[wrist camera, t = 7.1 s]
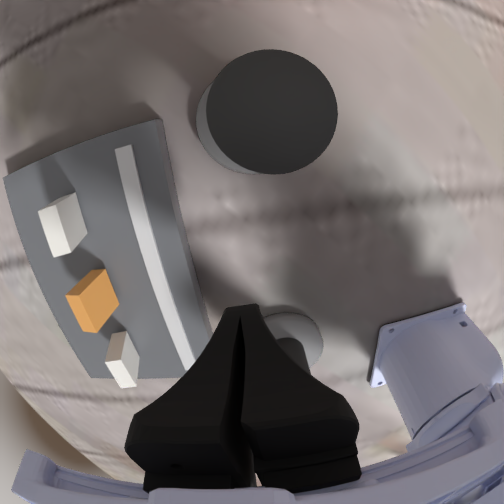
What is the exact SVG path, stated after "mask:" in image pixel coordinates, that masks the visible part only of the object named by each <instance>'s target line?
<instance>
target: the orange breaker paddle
mask: <svg viewBox="0 0 504 504" xmlns="http://www.w3.org/2000/svg"><path fill="white" fill-rule="evenodd" d="M65 296H66V298H67V301H68V303H69V305H70V307H71V309H72V311H73V313H74V315H75V317H76V319H77V321H78V323H79V325H80V327H81V329H82V330H83V332H92V333H97V332H98V331H99V330H100V328H101V327H102V326H103V324H104V323H105V322H106V321H107V319H108V318H109V317H110V315H111V314H112V313H113V312H114V310H115V309H116V308H117V307H118V305H119V302H118V299H117V297H116V294H115V292H114V289H113V287H112V284H111V282H110V279H109V277H108V274H107V272H106V269H97V270H91V271H90V272H89V273H88V274H87V275H86V276H85V277H84V278H83V279H82V280H80V281H79V282H78V283H77V284H76V285H75V286H74V287H73V288H72V289H71V290H70V291H69V292H68V293H67V294H66V295H65Z"/></svg>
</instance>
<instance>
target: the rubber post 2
mask: <svg viewBox="0 0 504 504" xmlns="http://www.w3.org/2000/svg"><path fill="white" fill-rule="evenodd" d="M263 319H264V321H265V323H266V325H267V326H268V328H269V330H270V331H271V333H272V334H273V336H274V337H275V339H276V340H277V341H278V343H279V344H280V345H281V346H282V348H283V349H284V350H285V351H286V352H287V353H288V354H289V355H290V357H291V358H292V359H293V360H294V361H295V362H296V363H298V364H299V365H300V366H301V367H302V368H303V369H304V370H306V371H307V372H308V373H309V374H310V375H311V373H310V369H309V368H310V367H311V366H313V365H314V364H315V363H316V362H317V360H318V359H319V358H320V356H321V354H322V351H323V340H322V336H321V334H320V331H319V328H318V326H317V325H316V324H315V323H314V322H313V321H312V320H311V319H310V318H308V317H306V316H304V315H301V314H296V313H278V314H273V315H270V316H267V317H265V318H263Z"/></svg>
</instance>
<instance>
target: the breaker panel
mask: <svg viewBox="0 0 504 504" xmlns="http://www.w3.org/2000/svg"><path fill="white" fill-rule="evenodd" d="M3 181H4V185H5V189H6V193H7V197H8V200H9V204H10V207H11V211H12V214H13V217H14V221H15V224H16V227H17V230H18V233H19V236H20V239H21V242H22V244H23V247H24V250H25V252H26V255H27V258H28V260H29V263H30V265H31V267H32V270H33V272H34V275H35V277H36V279H37V282H38V284H39V286H40V288H41V290H42V293H43V295H44V297H45V299H46V301H47V303H48V305H49V307H50V309H51V311H52V313H53V315H54V317H55V319H56V321H57V322H58V324H59V326H60V328H61V330H62V332H63V333H64V335H65V337H66V339H67V340H68V342H69V344H70V346H71V347H72V349H73V351H74V352H75V354H76V355H77V357H78V359H79V360H80V362H81V363H82V365H83V367H84V368H85V370H86V371H87V373H88V374H89V376H90V377H91V378H114V376H113V375H112V373H111V372H110V370H109V368H108V367H107V365H106V364H105V359H106V355H107V351H108V347H109V343H110V339H111V335H112V334H113V333H118V332H124V331H127V333H128V335H129V337H130V339H131V341H132V343H133V345H134V347H135V349H136V351H137V353H138V355H139V357H140V359H139V368H138V377H137V379H148V378H178V377H182V376H183V375H184V374H185V373H186V372H187V371H188V370H189V369H190V367H191V366H192V365H193V364H194V362H195V361H196V360H197V359H198V357H199V356H200V354H201V353H202V351H203V350H204V348H205V347H206V345H207V344H208V342H209V341H210V339H211V337H212V335H213V332H212V329H211V325H210V322H209V318H208V315H207V312H206V308H205V305H204V301H203V297H202V294H201V290H200V286H199V283H198V279H197V275H196V271H195V268H194V264H193V260H192V256H191V252H190V248H189V244H188V240H187V236H186V232H185V228H184V223H183V219H182V215H181V210H180V206H179V202H178V197H177V193H176V188H175V183H174V179H173V174H172V169H171V164H170V159H169V154H168V149H167V144H166V138H165V133H164V127H163V122H162V120H159V119H154V120H151V121H147V122H143V123H140V124H136V125H133V126H129V127H126V128H123V129H120V130H116V131H113V132H110V133H107V134H104V135H101V136H98V137H95V138H93V139H90V140H87V141H84V142H82V143H79V144H76V145H74V146H71V147H69V148H66V149H64V150H61V151H59V152H56V153H54V154H52V155H49V156H47V157H45V158H43V159H40V160H38V161H36V162H34V163H32V164H29V165H27V166H25V167H23V168H21V169H19V170H17V171H15V172H13V173H11V174H9V175H7V176H5V177H3ZM75 192H76V195H77V199H78V203H79V206H80V210H81V213H82V216H83V220H84V223H85V226H86V229H87V235H86V236H85V237H84V238H83V239H82V240H81V242H80V243H79V244H78V245H77V246H76V248H75V249H74V250H73V251H72V252H71V253H68V254H65V255H61V256H58V257H53V255H52V252H51V249H50V247H49V244H48V241H47V238H46V235H45V232H44V229H43V226H42V223H41V220H40V217H39V214H38V211H39V210H40V209H42V208H44V207H45V206H47V205H48V204H50V203H52V202H53V201H55V200H57V199H58V198H60V197H63V196H66V195H69V194H72V193H75ZM97 269H106V272H107V274H108V277H109V279H110V282H111V284H112V287H113V289H114V292H115V294H116V297H117V299H118V302H119V305H118V307H117V308H116V309H115V310H114V312H113V313H112V314H111V315H110V317H109V318H108V319H107V321H106V322H105V323H104V324H103V326H102V327H101V328H100V330H99V331H98V332H97V333H92V332H83V330H82V329H81V327H80V325H79V323H78V321H77V319H76V317H75V315H74V313H73V311H72V309H71V307H70V305H69V303H68V301H67V298H66V296H65V295H66V294H67V293H68V292H69V291H70V290H71V289H72V288H73V287H74V286H75V285H76V284H77V283H78V282H79V281H80V280H82V279H83V278H84V277H85V276H86V275H87V274H88V273H89V272H90V271H91V270H97Z"/></svg>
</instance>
